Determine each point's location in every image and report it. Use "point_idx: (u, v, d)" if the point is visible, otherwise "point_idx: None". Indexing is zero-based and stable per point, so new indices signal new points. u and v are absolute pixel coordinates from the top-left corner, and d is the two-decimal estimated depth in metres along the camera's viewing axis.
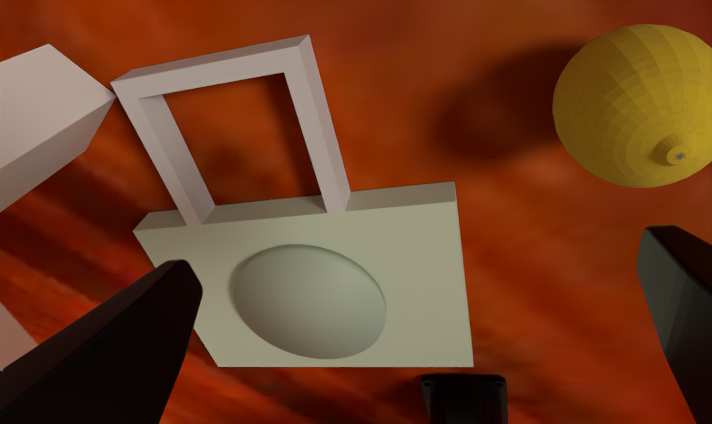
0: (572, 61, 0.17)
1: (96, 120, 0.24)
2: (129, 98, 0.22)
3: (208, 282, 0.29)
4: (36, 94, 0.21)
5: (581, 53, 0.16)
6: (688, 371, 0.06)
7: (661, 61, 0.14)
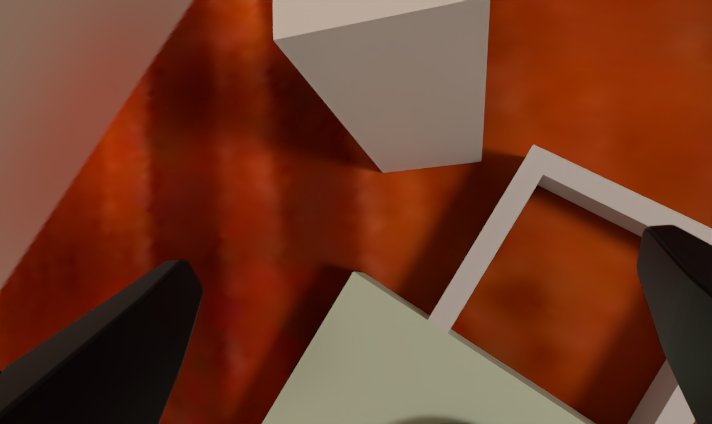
0: None
1: (448, 160, 0.21)
2: (535, 168, 0.19)
3: (360, 403, 0.19)
4: None
5: None
6: (688, 371, 0.06)
7: None
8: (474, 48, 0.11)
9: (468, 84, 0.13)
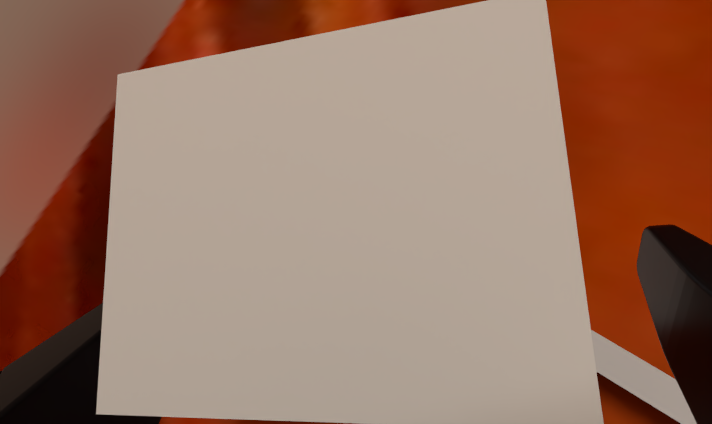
0: None
1: None
2: None
3: None
4: None
5: None
6: (688, 371, 0.06)
7: None
8: None
9: None
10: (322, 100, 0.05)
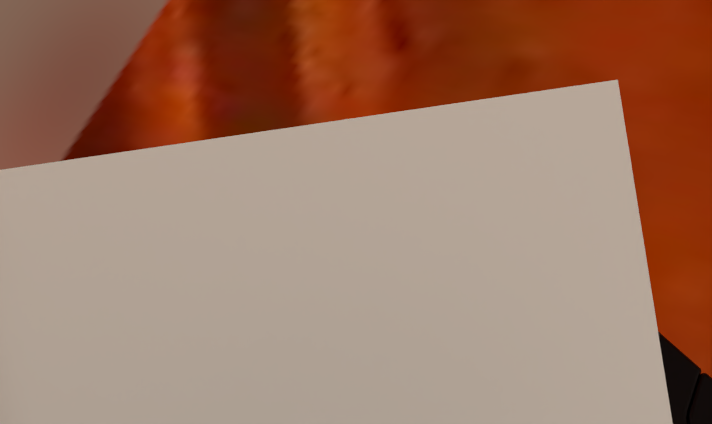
0: None
1: None
2: None
3: None
4: None
5: None
6: None
7: None
8: None
9: None
10: (259, 241, 0.03)
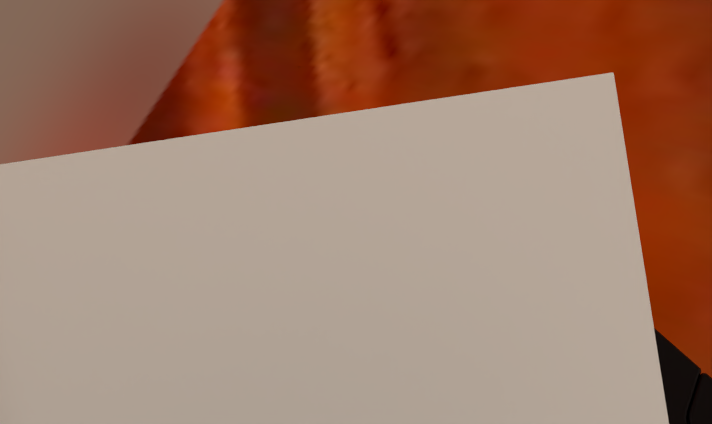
0: None
1: None
2: None
3: None
4: None
5: None
6: None
7: None
8: None
9: None
10: (256, 235, 0.03)
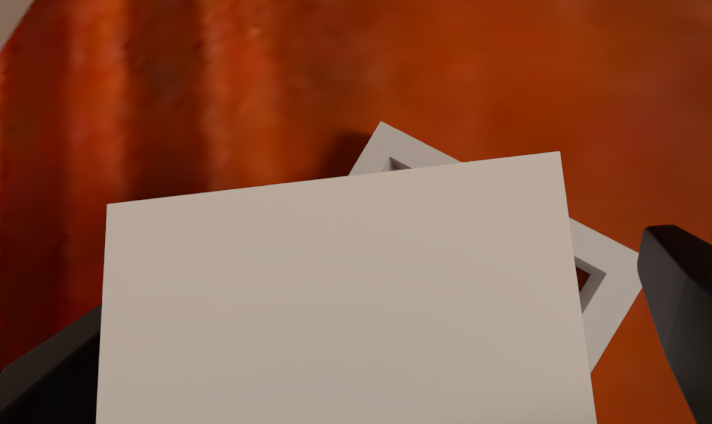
0: None
1: None
2: (381, 149, 0.16)
3: None
4: None
5: None
6: (688, 371, 0.06)
7: None
8: None
9: None
10: (323, 255, 0.04)
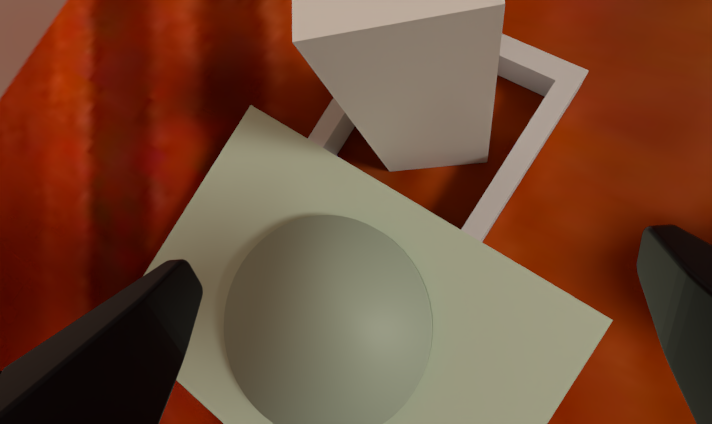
0: None
1: (455, 160, 0.21)
2: None
3: (249, 209, 0.23)
4: None
5: None
6: (688, 371, 0.06)
7: None
8: (487, 53, 0.12)
9: (479, 87, 0.14)
10: None
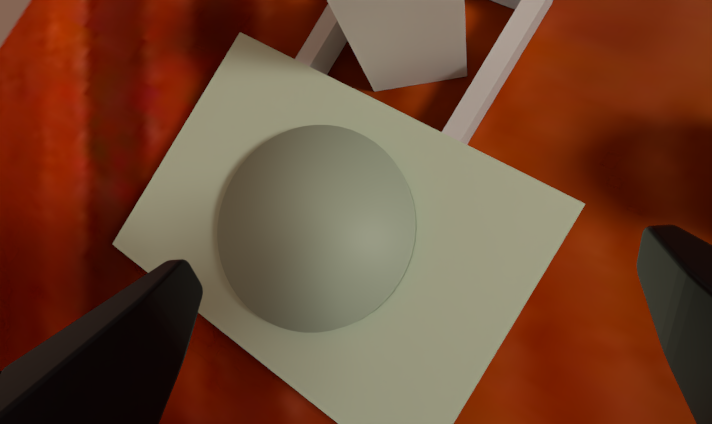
0: None
1: (435, 73, 0.22)
2: None
3: (240, 129, 0.24)
4: None
5: None
6: (688, 371, 0.06)
7: None
8: None
9: None
10: None
